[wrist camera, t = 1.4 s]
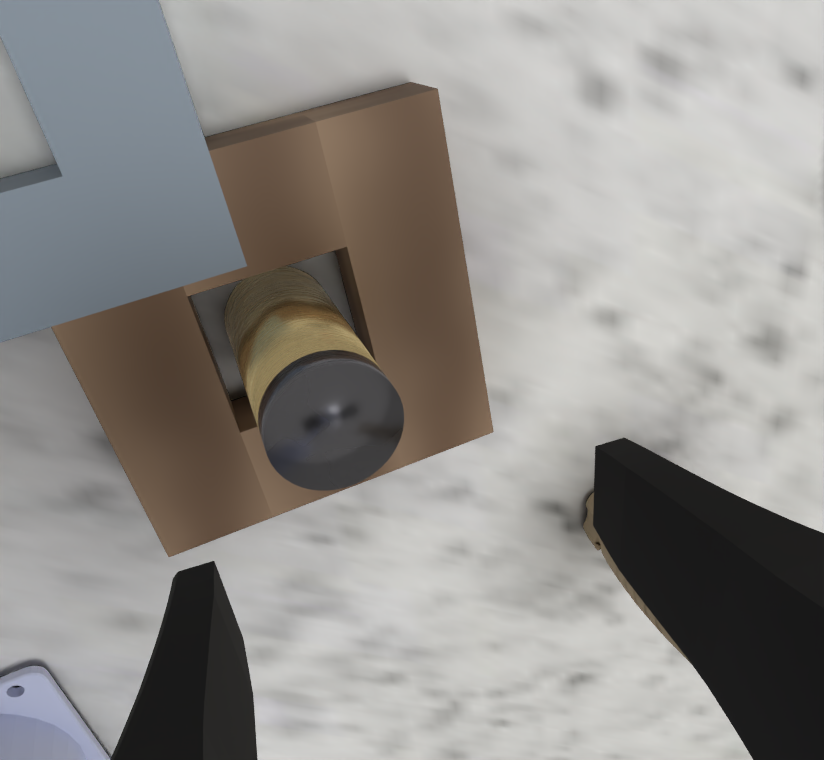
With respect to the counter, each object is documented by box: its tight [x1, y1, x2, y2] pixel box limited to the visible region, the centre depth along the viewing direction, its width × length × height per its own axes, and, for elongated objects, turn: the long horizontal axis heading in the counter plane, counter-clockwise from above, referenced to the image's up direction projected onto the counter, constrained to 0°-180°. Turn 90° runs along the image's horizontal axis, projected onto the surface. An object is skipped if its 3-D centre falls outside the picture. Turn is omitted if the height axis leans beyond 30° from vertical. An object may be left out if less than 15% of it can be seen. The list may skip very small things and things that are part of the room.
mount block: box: [51, 82, 493, 557], centre depth 21 cm, size 11×11×2 cm
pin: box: [225, 266, 404, 491], centre depth 19 cm, size 3×3×7 cm
